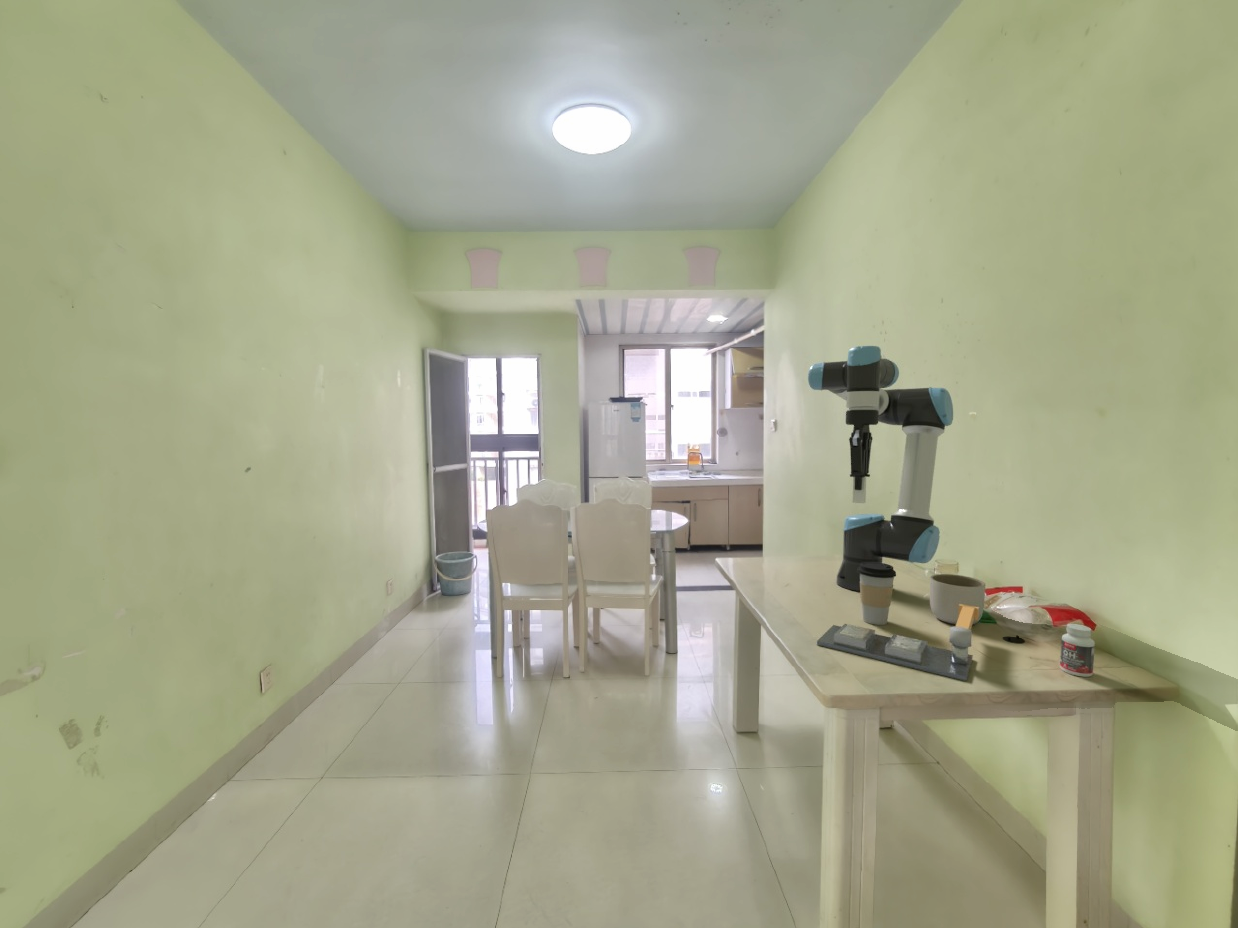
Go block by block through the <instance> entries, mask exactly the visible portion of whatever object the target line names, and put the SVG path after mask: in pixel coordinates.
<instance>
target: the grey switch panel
mask: <svg viewBox="0 0 1238 928" xmlns="http://www.w3.org/2000/svg"><path fill="white" fill-rule="evenodd" d="M816 645H817V646H819V647H820V646H821V647H824V648H829V649H832V650H836V651H841V652H844V653H850V654H852V655H858V656H861V657H865V658H869V659H873V660H877V661H881V662H885V663H890V664H894V665H899V666H902V667H906V668H910V669H914V670H918V671H923V672H927V673H930V674H934V675H937V676H938V675H939V676H943V677H948V678H952V679H956V680H959V681H964V682H967V680H968V676H969V674H970V670H971V666H972V663H973V658H974V657H973V655H972V654H969V647H960V646H956V645H953V644H951V650H950V649H946V648H941V647H937V646H931V645H928V640H922V639H918V638H913V637H908V636H904V635H899V634H892V636H887V635H882V634H877V633H876V629H871V628H867V627H866V628H865V627H862V626H858V625H854V624H852V625H851V624H849V623H844V624H843V625H842V626H841V625H839V626H838V625H837V624H833V625H832V626H830V627H829V629H827V631H826V632H825V633H823V634H822V635H821V636H820V637H819V639H818V640H816Z"/></svg>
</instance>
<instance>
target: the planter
mask: <svg viewBox="0 0 1238 928" xmlns="http://www.w3.org/2000/svg"><path fill="white" fill-rule="evenodd" d="M985 595H986V583H985V582H984V581H983V580H980V579H978V578H975V577H970V576H966V575H962V574H961V575H959V574H950V573H938V574H937V573H936V574H932V575H931V576H930V581H929V606H930V611H931V612H932V614H933V615H934V617H935V618H937V619H938V620H940V621H942V622H944V623H947V624H951V625H956V623H957V620H958V618H959V616H958V615H959V604H962V605H968V606H974V607H979V613H978V620H975V619H974V621H973V624H972V625H975V624H976V623H978V622H979V621H980V620H981V618H982V616H983V614H984V610H985V609H984V607H985V597H986V596H985Z"/></svg>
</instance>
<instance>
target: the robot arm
mask: <svg viewBox="0 0 1238 928" xmlns="http://www.w3.org/2000/svg"><path fill="white" fill-rule="evenodd" d="M899 376H900V370H899V367H898V364H896V363H895V362H894V361H893V360H890V359H888V358H882V350H881V348H880V347H879V346H877V345H861V346H860V345H859V346H854V347H851V348H850V349H849V350H848V353H847V360H845V361H828V362H827V361H826V362H825V361H823V362H819V363H818V362H817V363H814V364H812V365H811V366H810V368H809V369H808V374H807V381H808V385H809V387H810V388H811V389H812V390H813V391H829V393H832V394H834V395H836V396H838V397H839V398H841V399H842V400H845V401H846V404H845V405H846V406H845V407H846V408H847V410H846V411H845V424H846V425H847V426H853V429H852V432H851V433H850V437H849V438H848V441H849V446H850V450H849V451H850V474H849V477H850V478H853V480H852V482H853V483H852V503H855V504H865V503H866V498H867V497H866V495H867V478H870V477H871V474H869V472H870V461H871V452H872V451H871V450H872V442H873V436H872V432H871V431H870V429H871V428H870V426H877V425H879V423H882V424H885V425H890V426H902V427H901V430H902V431H903V433H904V434H905V435H906V437H905V446H904V454H903V455H904V456H903V463H902V470H901V477H900V485H899V487H900V488H899V493H898V494H899V495H898V501H897V502H898V503H897V509H896V511H894V512H893V513H891V516H890V520H886V519H885V516H884V515H883V514H878V513H864V514H854V515H849V516H847V517H846V518H845V520H844V525H843V526H844V527H843V542H842V544H843V547H842V549H843V551H842V553H843V554H842V561H841V564H840V567H839V568H838V572H837V574H836V583H835V584H837V585H838V586H839V587H841V588H845V589H847V590H851V591H857V592H860V573H858V572H857V570H858V567H860V564H861V563H863V562H879V563H883V558H885V559H891V560H898V561H902V562H908V563H914V564H915V563H916V564H928V563H929V562H931V560H932V559H933V558H934V557H935V554H936V552H937V549H938V547H939V546H938V545H939V543H940V542H939V541H940V528H939V527H938V526H936V525H934V524H935V520H934V518H933V517H932V516H931V515H930V507H931V500H932V499H931V498H932V490H933V484H934V483H933V482H934V473H935V465H936V456H937V449H938V439H939V437H940V436H941V435H942V434H944V433H945V427H948V426H951V425H952V424H953V420H954V405H953V401H952V397H951V395H950V392H949V390H947V389H946V388H944V387H931V386H930V387H922V388H921V387H920V388H916V387H915V388H895V389H886V388H890V387H891V386H893V385H894V384H895V383H896V382H897V381H898V378H899Z"/></svg>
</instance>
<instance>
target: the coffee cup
mask: <svg viewBox="0 0 1238 928" xmlns="http://www.w3.org/2000/svg"><path fill="white" fill-rule="evenodd" d="M857 572H858V573H860V591H859V593H860V603H861V611H862V620H863V622H865V623H868V624H871V625H877V626H884V625H886V624H887V623H888V617H889V611H890V607H891V603H892V596H893V590H894V580H895V579H894V578H895V577H896V576H897V573H896V570H894V566H893V565H891V564H888V563H885V562H882V563H879V562H863V563H861V564H860V567H858V570H857Z"/></svg>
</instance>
